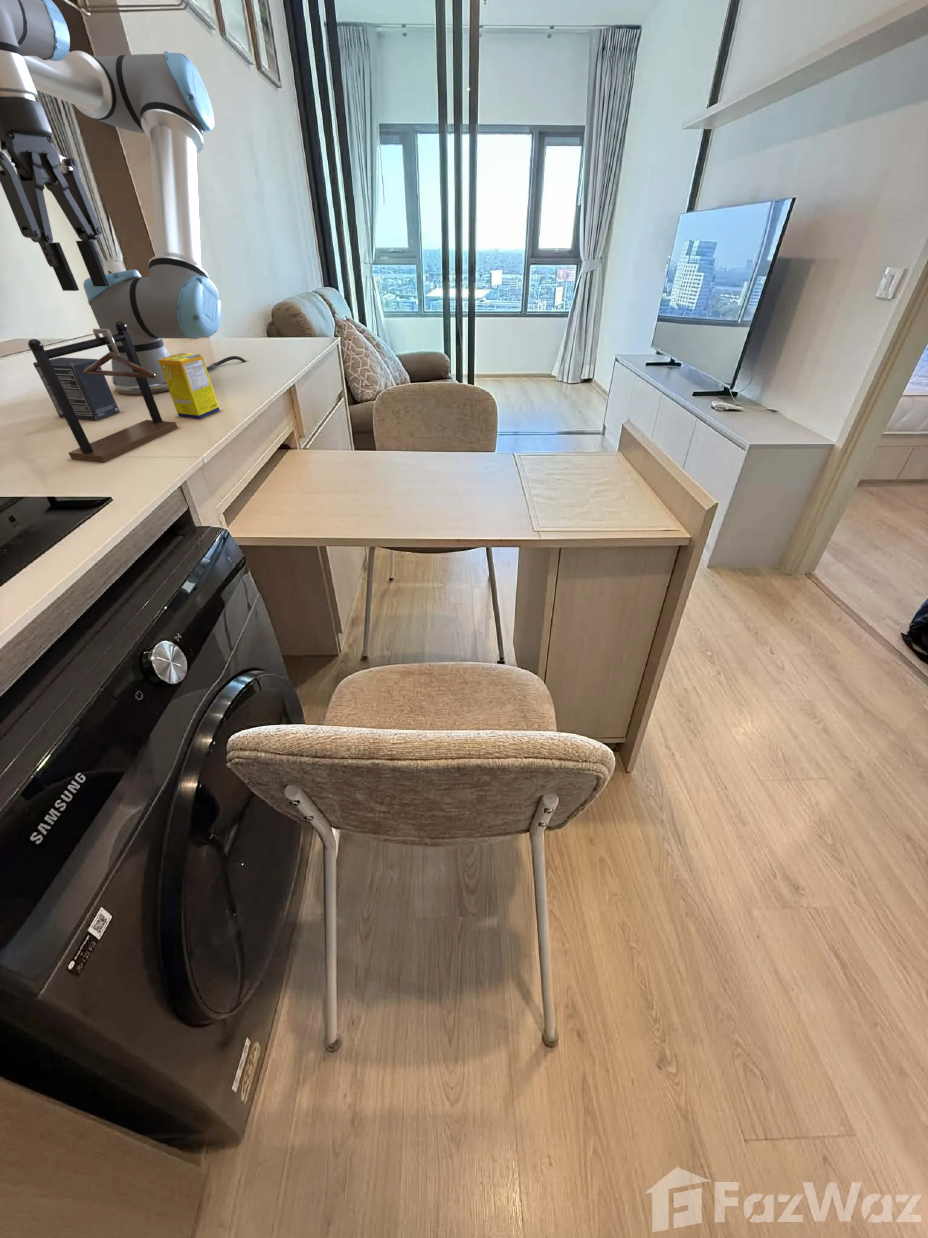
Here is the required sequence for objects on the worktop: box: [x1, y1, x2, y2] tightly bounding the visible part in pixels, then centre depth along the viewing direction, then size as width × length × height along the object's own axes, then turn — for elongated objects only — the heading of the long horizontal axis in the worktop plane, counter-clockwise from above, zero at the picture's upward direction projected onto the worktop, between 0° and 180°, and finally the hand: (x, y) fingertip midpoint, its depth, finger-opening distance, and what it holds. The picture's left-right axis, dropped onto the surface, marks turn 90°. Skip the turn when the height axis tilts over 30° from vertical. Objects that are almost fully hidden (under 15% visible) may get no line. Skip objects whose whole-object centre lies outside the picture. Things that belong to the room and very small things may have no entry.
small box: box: [32, 356, 121, 421], centre depth 104 cm, size 11×6×10 cm, turn 72°
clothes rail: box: [27, 321, 179, 463], centre depth 87 cm, size 18×7×18 cm, turn 164°
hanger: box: [83, 328, 156, 379], centre depth 87 cm, size 1×15×7 cm, turn 75°
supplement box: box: [158, 352, 221, 420], centre depth 102 cm, size 6×6×11 cm
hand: (86, 287), depth 88 cm, fingers open, 6 cm apart
